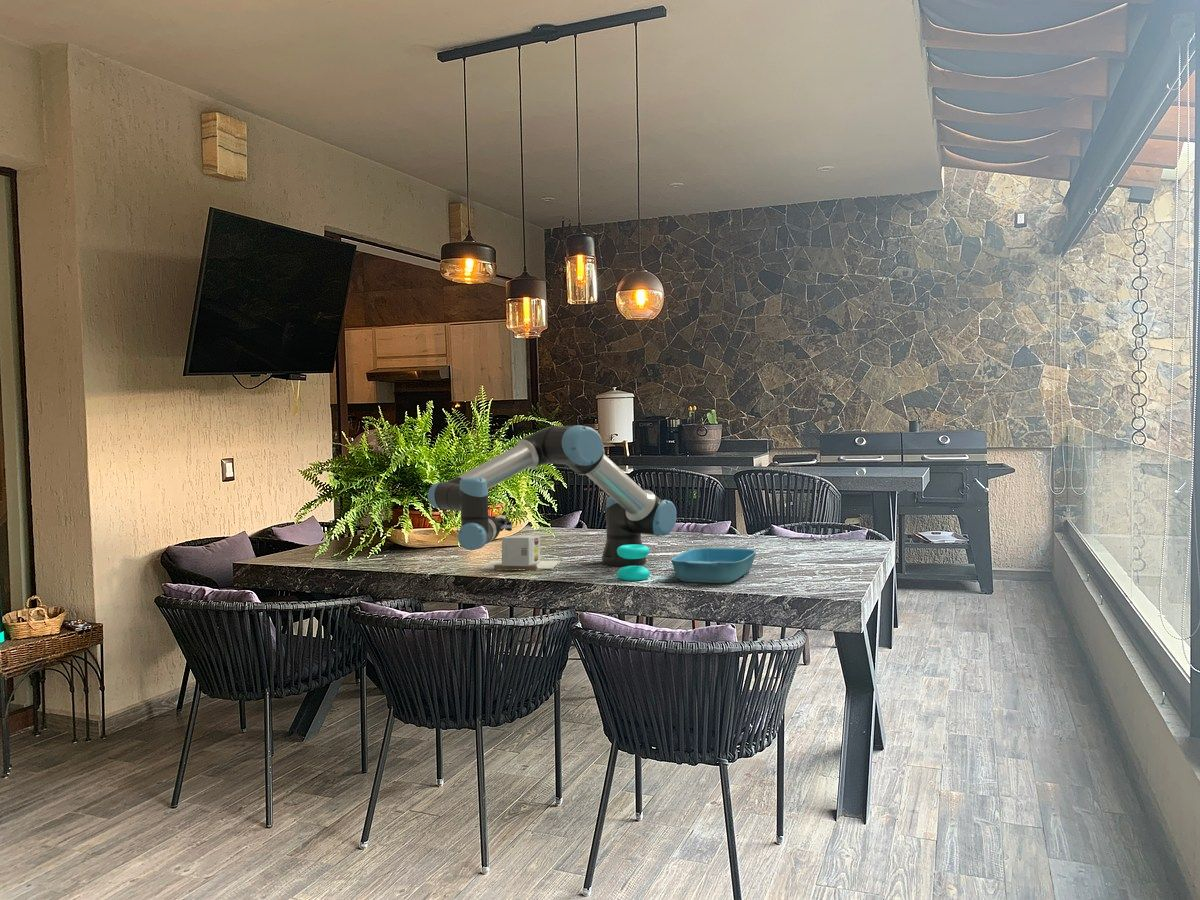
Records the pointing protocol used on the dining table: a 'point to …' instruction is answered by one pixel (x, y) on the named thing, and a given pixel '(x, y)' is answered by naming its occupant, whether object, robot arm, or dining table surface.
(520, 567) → the mat
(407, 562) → the dining table surface
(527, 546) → the supplement box
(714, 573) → the casserole dish
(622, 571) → the donuts
